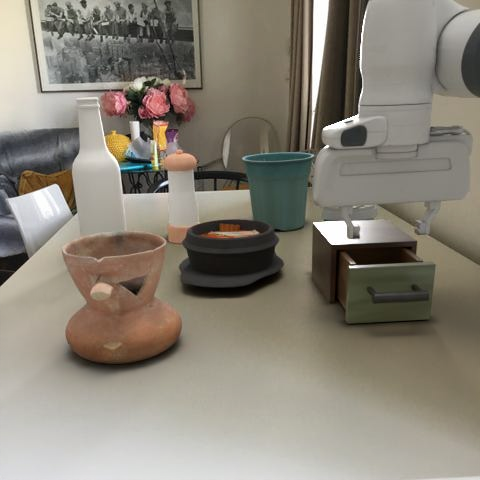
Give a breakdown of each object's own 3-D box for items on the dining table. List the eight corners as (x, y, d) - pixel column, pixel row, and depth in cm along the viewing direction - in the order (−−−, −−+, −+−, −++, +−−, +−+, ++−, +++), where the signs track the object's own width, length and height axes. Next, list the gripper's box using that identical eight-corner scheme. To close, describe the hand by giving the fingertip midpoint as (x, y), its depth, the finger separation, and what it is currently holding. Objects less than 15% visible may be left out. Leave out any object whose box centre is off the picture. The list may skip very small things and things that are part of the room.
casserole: (203, 253, 114) (201, 211, 111) (295, 257, 110) (295, 214, 107) (156, 294, 92) (151, 244, 89) (268, 302, 88) (267, 249, 84)
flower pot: (247, 235, 127) (245, 161, 121) (241, 220, 142) (239, 153, 136) (319, 232, 128) (321, 158, 122) (306, 217, 143) (306, 150, 137)
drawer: (442, 331, 73) (449, 274, 70) (355, 336, 72) (358, 278, 70) (398, 287, 89) (402, 238, 86) (326, 290, 89) (328, 242, 86)
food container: (343, 267, 103) (345, 212, 99) (320, 260, 108) (321, 207, 104) (388, 254, 110) (392, 202, 106) (364, 248, 114) (367, 198, 110)
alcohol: (93, 254, 116) (72, 97, 105) (135, 254, 115) (118, 96, 104) (77, 266, 108) (53, 98, 97) (122, 266, 107) (103, 97, 96)
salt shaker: (167, 236, 128) (160, 148, 121) (199, 234, 129) (194, 147, 122) (169, 244, 122) (162, 152, 114) (203, 242, 123) (198, 150, 115)
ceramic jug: (172, 380, 65) (162, 261, 59) (48, 381, 66) (27, 263, 60) (192, 320, 81) (185, 223, 76) (93, 321, 82) (79, 225, 77)
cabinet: (411, 302, 85) (417, 240, 82) (329, 307, 85) (331, 244, 81) (383, 273, 99) (386, 219, 95) (311, 277, 98) (312, 222, 95)
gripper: (463, 123, 75) (453, 226, 80) (309, 130, 74) (309, 234, 79) (485, 126, 69) (472, 237, 74) (319, 134, 68) (318, 246, 73)
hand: (387, 236), depth 77 cm, fingers open, 8 cm apart
